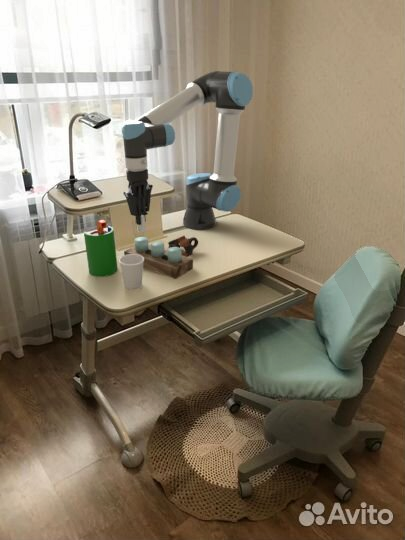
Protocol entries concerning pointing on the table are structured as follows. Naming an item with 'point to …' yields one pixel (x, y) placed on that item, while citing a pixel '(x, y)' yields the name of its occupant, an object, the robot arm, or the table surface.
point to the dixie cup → (132, 270)
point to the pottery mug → (184, 245)
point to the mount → (163, 263)
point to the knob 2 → (157, 249)
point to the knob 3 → (174, 254)
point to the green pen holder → (101, 251)
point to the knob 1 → (141, 244)
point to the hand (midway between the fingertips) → (141, 231)
